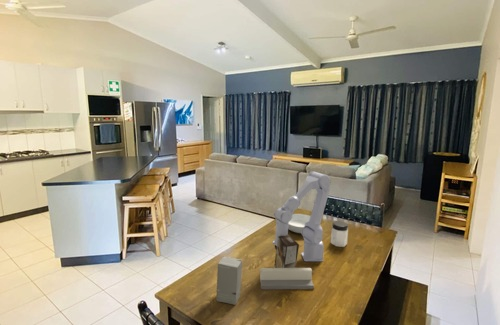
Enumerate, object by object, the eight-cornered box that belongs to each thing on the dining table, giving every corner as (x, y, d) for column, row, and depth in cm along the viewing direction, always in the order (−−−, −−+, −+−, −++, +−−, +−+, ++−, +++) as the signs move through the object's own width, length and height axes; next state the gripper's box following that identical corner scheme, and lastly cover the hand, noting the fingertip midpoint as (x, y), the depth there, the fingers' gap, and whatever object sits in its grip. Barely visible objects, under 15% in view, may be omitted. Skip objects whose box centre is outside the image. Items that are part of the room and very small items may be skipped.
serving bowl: (278, 231, 167) (278, 221, 166) (292, 221, 184) (293, 211, 183) (309, 240, 155) (310, 229, 154) (322, 228, 172) (323, 218, 171)
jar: (327, 241, 155) (329, 221, 153) (338, 238, 158) (340, 219, 156) (338, 248, 147) (340, 227, 145) (350, 245, 150) (351, 225, 148)
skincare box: (216, 301, 104) (215, 264, 101) (222, 290, 111) (222, 254, 108) (236, 306, 102) (236, 267, 99) (242, 294, 109) (242, 258, 106)
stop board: (310, 280, 118) (310, 267, 117) (313, 289, 112) (314, 276, 111) (260, 280, 118) (260, 268, 116) (261, 289, 112) (261, 276, 111)
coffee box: (295, 276, 121) (300, 244, 117) (282, 279, 118) (287, 246, 114) (284, 264, 129) (289, 234, 125) (273, 266, 127) (277, 236, 123)
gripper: (271, 227, 133) (270, 252, 136) (274, 240, 119) (273, 268, 121) (285, 227, 133) (284, 252, 136) (290, 240, 119) (288, 268, 121)
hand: (279, 260), depth 129 cm, fingers closed, pressing on coffee box
